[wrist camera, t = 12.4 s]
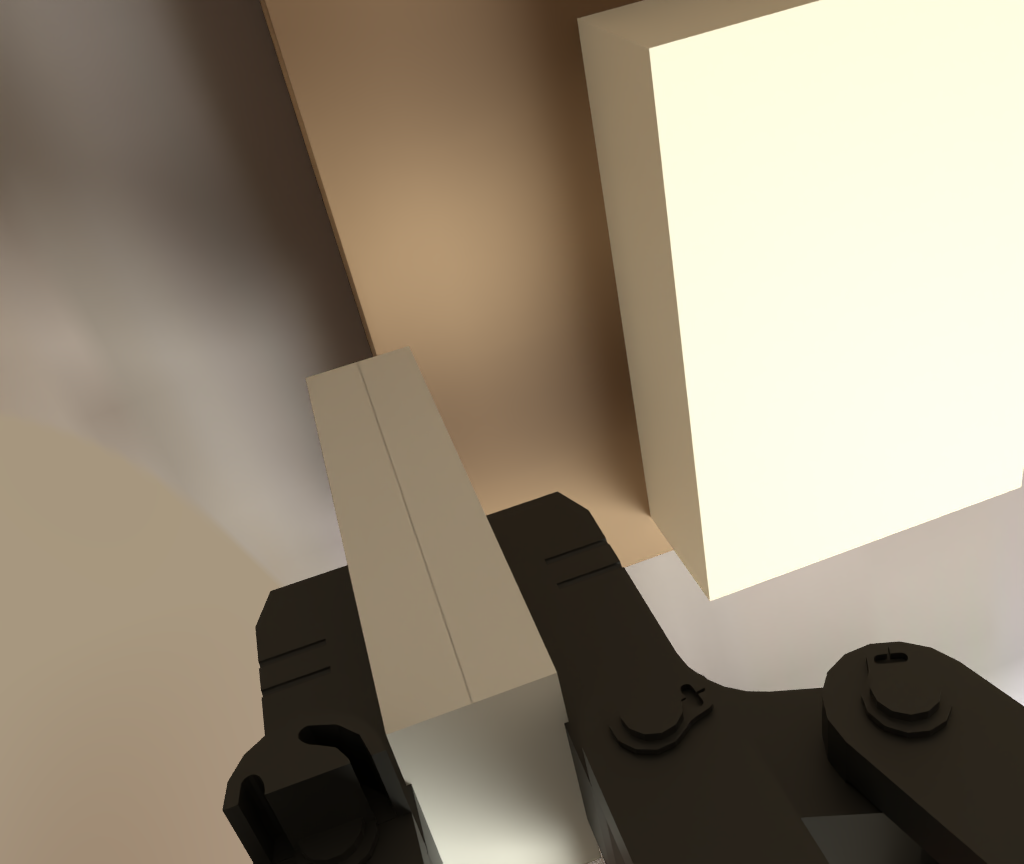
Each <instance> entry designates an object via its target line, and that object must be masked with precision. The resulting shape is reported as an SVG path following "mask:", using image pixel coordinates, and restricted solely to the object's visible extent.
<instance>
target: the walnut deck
mask: <svg viewBox="0 0 1024 864" xmlns="http://www.w3.org/2000/svg"><path fill="white" fill-rule="evenodd" d="M639 1H643V0H260V4H261V7H262V10H263V13H264V16H265V19H266V22H267V26H268V29H269V32H270V35H271V38H272V41H273V44H274V47H275V51H276V54H277V57H278V60H279V63H280V66H281V69H282V73H283V76H284V79H285V82H286V85H287V88H288V91H289V95H290V98H291V101H292V104H293V107H294V110H295V113H296V117H297V120H298V123H299V126H300V129H301V132H302V135H303V139H304V142H305V145H306V148H307V151H308V154H309V157H310V161H311V164H312V167H313V170H314V173H315V176H316V179H317V182H318V186H319V189H320V192H321V195H322V198H323V201H324V204H325V208H326V211H327V214H328V217H329V220H330V223H331V226H332V230H333V233H334V236H335V239H336V242H337V245H338V248H339V252H340V255H341V258H342V261H343V264H344V267H345V270H346V274H347V277H348V280H349V283H350V286H351V289H352V292H353V296H354V299H355V302H356V305H357V308H358V311H359V314H360V317H361V321H362V324H363V327H364V330H365V333H366V336H367V339H368V343H369V346H370V349H371V352H372V355H373V357H375V356H378V355H381V354H385V353H388V352H391V351H394V350H398V349H401V348H404V347H407V346H409V347H410V349H411V352H412V354H413V356H414V358H415V360H416V363H417V365H418V367H419V369H420V371H421V374H422V376H423V378H424V380H425V382H426V385H427V387H428V389H429V391H430V394H431V396H432V398H433V400H434V402H435V405H436V407H437V409H438V411H439V413H440V416H441V418H442V420H443V422H444V424H445V427H446V429H447V431H448V433H449V435H450V438H451V440H452V442H453V444H454V446H455V449H456V451H457V453H458V455H459V458H460V460H461V462H462V464H463V466H464V469H465V471H466V473H467V475H468V477H469V480H470V482H471V484H472V486H473V488H474V491H475V493H476V495H477V497H478V499H479V502H480V504H481V506H482V508H483V510H484V513H485V515H489V514H492V513H495V512H498V511H501V510H504V509H507V508H510V507H513V506H516V505H519V504H522V503H525V502H528V501H531V500H534V499H537V498H540V497H542V496H545V495H548V494H551V493H554V492H557V491H558V492H559V493H561V494H563V495H564V496H566V497H568V498H569V499H571V500H573V501H574V502H576V503H578V504H579V505H581V506H583V507H584V508H586V509H588V510H589V511H590V513H591V515H592V516H593V518H594V520H595V521H596V523H597V524H598V526H599V528H600V529H601V531H602V533H603V534H604V536H605V537H606V540H607V543H608V544H610V546H611V547H612V549H613V550H614V552H615V554H616V555H617V557H618V559H619V560H620V563H621V566H622V568H623V567H627V566H630V565H633V564H636V563H638V562H641V561H644V560H647V559H649V558H652V557H655V556H658V555H661V554H663V553H666V552H669V551H672V550H674V549H673V548H672V547H671V545H670V544H669V542H668V541H667V539H666V538H665V537H664V535H663V534H662V532H661V531H660V529H659V528H658V527H657V525H656V524H655V522H654V521H653V519H652V518H651V516H650V509H649V502H648V495H647V488H646V482H645V475H644V468H643V461H642V455H641V448H640V441H639V434H638V428H637V421H636V414H635V407H634V400H633V394H632V387H631V380H630V373H629V367H628V360H627V353H626V346H625V340H624V333H623V326H622V319H621V312H620V306H619V299H618V292H617V285H616V279H615V272H614V265H613V258H612V252H611V245H610V238H609V231H608V225H607V218H606V211H605V204H604V197H603V191H602V184H601V177H600V170H599V164H598V157H597V150H596V143H595V137H594V130H593V123H592V116H591V109H590V103H589V96H588V89H587V82H586V76H585V69H584V62H583V55H582V49H581V42H580V35H579V28H578V22H577V18H581V17H584V16H588V15H592V14H595V13H599V12H603V11H606V10H610V9H614V8H617V7H621V6H625V5H628V4H632V3H635V2H639Z"/></svg>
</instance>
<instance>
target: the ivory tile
mask: <svg viewBox="0 0 1024 864" xmlns="http://www.w3.org/2000/svg"><path fill="white" fill-rule="evenodd" d="M577 22H578V28H579V35H580V42H581V49H582V55H583V62H584V69H585V76H586V82H587V89H588V96H589V103H590V109H591V116H592V123H593V130H594V137H595V143H596V150H597V157H598V164H599V170H600V177H601V184H602V191H603V197H604V204H605V211H606V218H607V225H608V231H609V238H610V245H611V252H612V258H613V265H614V272H615V279H616V285H617V292H618V299H619V306H620V312H621V319H622V326H623V333H624V340H625V346H626V353H627V360H628V367H629V373H630V380H631V387H632V394H633V400H634V407H635V414H636V421H637V428H638V434H639V441H640V448H641V455H642V461H643V468H644V475H645V482H646V488H647V495H648V502H649V509H650V516H651V518H652V519H653V521H654V522H655V524H656V525H657V527H658V528H659V529H660V531H661V532H662V534H663V535H664V537H665V538H666V539H667V541H668V542H669V544H670V545H671V547H672V548H673V549H674V551H675V552H676V554H677V555H678V556H679V558H680V559H681V561H682V562H683V564H684V565H685V566H686V568H687V569H688V571H689V572H690V574H691V575H692V576H693V578H694V579H695V581H696V582H697V584H698V585H699V586H700V588H701V589H702V591H703V592H704V593H705V595H706V596H707V598H708V599H709V601H712V600H715V599H717V598H720V597H723V596H726V595H728V594H731V593H734V592H736V591H739V590H742V589H745V588H747V587H750V586H753V585H755V584H758V583H761V582H764V581H766V580H769V579H772V578H775V577H777V576H780V575H783V574H785V573H788V572H791V571H794V570H796V569H799V568H802V567H804V566H807V565H810V564H813V563H815V562H818V561H821V560H824V559H826V558H829V557H832V556H834V555H837V554H840V553H843V552H845V551H848V550H851V549H853V548H856V547H859V546H862V545H864V544H867V543H870V542H873V541H875V540H878V539H881V538H883V537H886V536H889V535H892V534H894V533H897V532H900V531H902V530H905V529H908V528H911V527H913V526H916V525H919V524H922V523H924V522H927V521H930V520H932V519H935V518H938V517H941V516H943V515H946V514H949V513H951V512H954V511H957V510H960V509H962V508H965V507H968V506H970V505H973V504H976V503H979V502H981V501H984V500H987V499H990V498H992V497H995V496H998V495H1000V494H1003V493H1006V492H1009V491H1011V490H1014V489H1017V488H1019V487H1021V483H1022V475H1023V468H1024V0H643V1H639V2H635V3H632V4H628V5H625V6H621V7H617V8H614V9H610V10H606V11H603V12H599V13H595V14H592V15H588V16H584V17H581V18H577Z"/></svg>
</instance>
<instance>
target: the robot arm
mask: <svg viewBox="0 0 1024 864" xmlns="http://www.w3.org/2000/svg"><path fill="white" fill-rule="evenodd" d="M306 383H307V387H308V391H309V396H310V400H311V405H312V409H313V414H314V418H315V422H316V427H317V431H318V436H319V440H320V445H321V449H322V453H323V458H324V462H325V467H326V471H327V476H328V480H329V484H330V489H331V493H332V498H333V502H334V507H335V511H336V515H337V520H338V524H339V529H340V533H341V538H342V542H343V546H344V551H345V555H346V560H347V564H348V565H347V566H344V567H341V568H338V569H335V570H332V571H329V572H326V573H323V574H320V575H317V576H314V577H311V578H308V579H305V580H302V581H299V582H296V583H293V584H290V585H287V586H284V587H282V588H279V589H276V590H273V591H271V592H270V594H269V596H268V599H267V601H266V603H265V606H264V608H263V610H262V613H261V615H260V618H259V620H258V622H257V625H256V638H257V650H258V661H259V664H260V669H259V673H260V683H261V691H262V695H263V697H262V707H263V718H264V730H265V736H264V737H263V738H262V739H261V740H260V741H259V742H258V743H257V744H255V745H254V746H253V747H252V748H251V749H250V750H249V751H248V752H247V753H246V754H245V755H244V756H243V758H242V759H241V761H240V762H239V764H238V766H237V768H236V769H235V771H234V772H233V774H232V776H231V777H230V779H229V781H228V783H227V789H226V794H225V800H224V805H223V812H224V814H225V815H226V817H227V819H228V820H229V822H230V824H231V825H232V827H233V829H234V831H235V832H236V834H237V836H238V837H239V839H240V841H241V842H242V844H243V846H244V848H245V849H246V851H247V853H248V854H249V856H250V858H251V859H252V861H253V864H587V863H589V862H592V861H594V860H597V859H600V858H601V855H600V851H601V853H602V856H603V858H604V860H605V863H606V864H1024V706H1023V705H1021V704H1020V703H1018V702H1017V701H1015V700H1014V699H1013V698H1011V697H1010V696H1008V695H1007V694H1005V693H1004V692H1002V691H1001V690H1000V689H998V688H997V687H995V686H994V685H992V684H991V683H989V682H988V681H987V680H985V679H984V678H982V677H981V676H979V675H978V674H977V673H975V672H974V671H972V670H971V669H969V668H968V667H966V666H965V665H964V664H962V663H961V662H959V661H957V660H955V659H953V658H951V657H949V656H947V655H945V654H943V653H941V652H939V651H937V650H935V649H933V648H930V647H925V646H920V645H915V644H910V643H905V642H888V643H876V644H869V645H866V646H864V647H861V648H859V649H857V650H854V651H852V652H849V653H847V654H845V655H844V656H843V657H842V658H841V659H840V660H839V661H838V662H837V663H836V664H835V665H834V666H833V667H832V668H831V669H830V670H829V671H828V672H827V676H826V680H825V683H824V687H823V688H813V689H800V690H787V691H774V692H754V691H742V690H738V689H733V688H728V687H724V686H721V685H719V684H717V683H714V682H712V681H710V680H707V679H706V678H705V677H704V676H702V675H700V674H698V673H696V672H695V671H693V670H692V669H691V668H689V667H688V666H687V665H686V664H685V662H684V661H683V660H682V659H681V658H680V656H679V655H678V654H677V653H676V651H675V650H674V648H673V646H672V645H671V643H670V641H669V640H668V638H667V637H666V635H665V633H664V632H663V630H662V628H661V627H660V625H659V624H658V622H657V620H656V619H655V617H654V615H653V614H652V612H651V611H650V609H649V607H648V606H647V604H646V602H645V601H644V599H643V598H642V596H641V594H640V593H639V591H638V589H637V588H636V586H635V585H634V583H633V581H632V580H631V578H630V576H629V575H628V573H627V572H626V570H625V568H624V567H623V568H622V566H621V563H620V560H619V559H618V557H617V555H616V554H615V552H614V550H613V549H612V547H611V546H610V544H608V543H607V540H606V537H605V536H604V534H603V533H602V531H601V529H600V528H599V526H598V524H597V523H596V521H595V520H594V518H593V516H592V515H591V513H590V511H589V510H588V509H586V508H584V507H583V506H581V505H579V504H578V503H576V502H574V501H573V500H571V499H569V498H568V497H566V496H564V495H563V494H561V493H559V492H558V491H557V492H554V493H551V494H548V495H545V496H542V497H540V498H537V499H534V500H531V501H528V502H525V503H522V504H519V505H516V506H513V507H510V508H507V509H504V510H501V511H498V512H495V513H492V514H489V515H485V513H484V510H483V508H482V506H481V504H480V502H479V499H478V497H477V495H476V493H475V491H474V488H473V486H472V484H471V482H470V480H469V477H468V475H467V473H466V471H465V469H464V466H463V464H462V462H461V460H460V458H459V455H458V453H457V451H456V449H455V446H454V444H453V442H452V440H451V438H450V435H449V433H448V431H447V429H446V427H445V424H444V422H443V420H442V418H441V416H440V413H439V411H438V409H437V407H436V405H435V402H434V400H433V398H432V396H431V394H430V391H429V389H428V387H427V385H426V382H425V380H424V378H423V376H422V374H421V371H420V369H419V367H418V365H417V363H416V360H415V358H414V356H413V354H412V352H411V349H410V347H409V346H407V347H404V348H401V349H398V350H394V351H391V352H388V353H385V354H381V355H378V356H375V357H372V358H368V359H365V360H362V361H359V362H355V363H352V364H349V365H346V366H342V367H339V368H336V369H333V370H329V371H326V372H323V373H320V374H317V375H313V376H310V377H307V378H306ZM598 846H599V847H598ZM599 848H600V851H599Z"/></svg>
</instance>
